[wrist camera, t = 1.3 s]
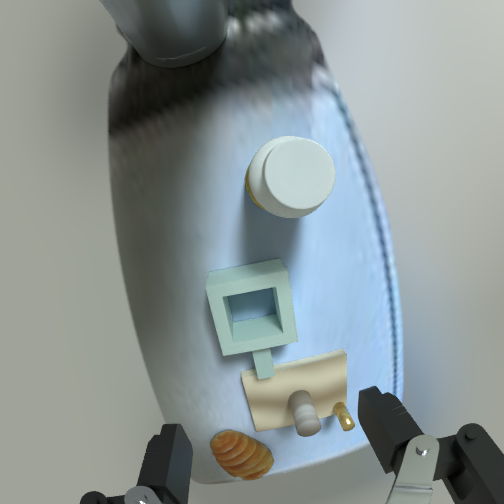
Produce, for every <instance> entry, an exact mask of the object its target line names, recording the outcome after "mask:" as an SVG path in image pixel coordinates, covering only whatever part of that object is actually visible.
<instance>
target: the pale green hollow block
mask: <svg viewBox="0 0 504 504" xmlns="http://www.w3.org/2000/svg"><path fill="white" fill-rule="evenodd" d="M205 288H206V292H207V296H208V300H209V304H210V308H211V312H212V316H213V319H214V323H215V327H216V331H217V335H218V338H219V342H220V346H221V349H222V353H223V356H225V355H231V354H237V353H243V352H249V351H252V353H253V358H254V362H255V367H256V371H257V375H258V379H264V378H269V377H274V376H275V372H274V367H273V362H272V356H271V351H270V347H275V346H280V345H285V344H289V343H294V342H298V337H297V330H296V322H295V315H294V308H293V301H292V294H291V287H290V281H289V274H288V270H287V268H286V267H285V265H284V264H283V262H282V261H281V259H280V258H279V259H273V260H268V261H263V262H258V263H253V264H248V265H242V266H237V267H232V268H227V269H221V270H216V271H211V272H209V275H208V278H207V282H206V285H205ZM267 288H272V289H273V294H274V300H275V306H276V312H277V314H273V315H268V316H263V317H258V318H252V319H247V320H242V321H236V322H233V319H232V314H231V310H230V306H229V301H228V297H227V296H230V295H235V294H241V293H246V292H251V291H256V290H262V289H267Z"/></svg>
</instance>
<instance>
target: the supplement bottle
mask: <svg viewBox="0 0 504 504" xmlns="http://www.w3.org/2000/svg"><path fill="white" fill-rule="evenodd" d="M334 184H335V167H334V163H333V161H332V158H331V157H330V155H329V154H328V152H327V151H326V150H325V149H324V148H323V147H322V146H321V145H319V144H318V143H316V142H314V141H312V140H309V139H306V138H300V137H295V136H283V137H278V138H275V139H272V140H270V141H269V142H267V143H265V144H264V145H263V146H262V147H261V148H260V149H259V150H258V151H257V152H256V153H255V155H254V157H253V159H252V161H251V163H250V165H249V167H248V169H247V171H246V176H245V185H246V189H247V192H248V194H249V196H250V198H251V199H252V200H253V202H254V203H255V204H256V205H257V206H259V207H260V208H262V209H263V210H265V211H268V212H270V213H271V214H274V215H276V216H279V217H283V218H298V217H303V216H306V215H308V214H310V213H312V212H313V211H315V210H316V209H317V208H318V207H319V206H320V205H321V204H322V203H323V202H324V201H325V200H326V199H327V198H328V196H329V195H330V193H331V192H332V189H333V187H334Z"/></svg>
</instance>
